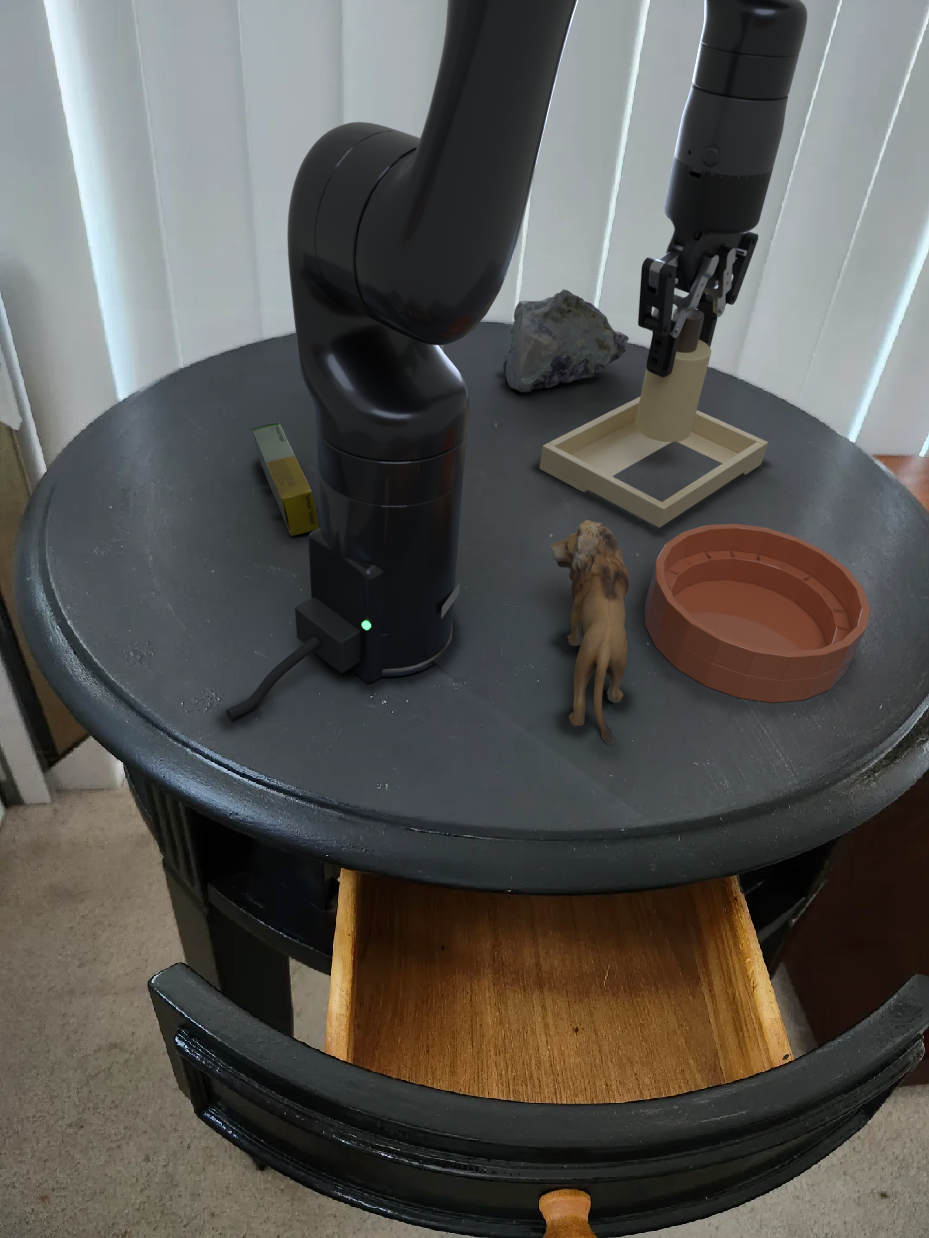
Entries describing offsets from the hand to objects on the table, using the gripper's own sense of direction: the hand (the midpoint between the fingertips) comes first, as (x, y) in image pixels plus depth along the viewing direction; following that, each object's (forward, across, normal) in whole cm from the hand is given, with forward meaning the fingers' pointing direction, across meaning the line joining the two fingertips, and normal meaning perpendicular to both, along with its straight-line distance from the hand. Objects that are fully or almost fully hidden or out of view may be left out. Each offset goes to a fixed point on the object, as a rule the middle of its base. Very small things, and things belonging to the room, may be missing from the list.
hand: (677, 363), depth 81 cm
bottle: (+6, 0, 0) cm, 6 cm away
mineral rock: (+11, -7, -17) cm, 21 cm away
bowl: (+11, +15, +19) cm, 26 cm away
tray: (+11, 0, 0) cm, 11 cm away
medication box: (+11, +30, -18) cm, 36 cm away
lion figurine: (+11, +27, +13) cm, 32 cm away
